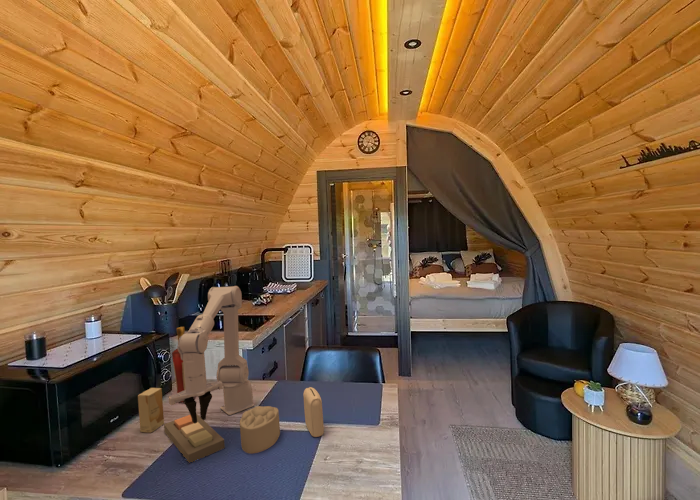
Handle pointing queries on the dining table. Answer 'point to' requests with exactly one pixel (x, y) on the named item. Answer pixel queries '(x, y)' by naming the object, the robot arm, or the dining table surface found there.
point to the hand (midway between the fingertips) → (199, 420)
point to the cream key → (191, 429)
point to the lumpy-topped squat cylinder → (259, 428)
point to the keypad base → (187, 448)
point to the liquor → (179, 365)
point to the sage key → (200, 438)
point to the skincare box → (150, 409)
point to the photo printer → (313, 412)
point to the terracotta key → (183, 422)
